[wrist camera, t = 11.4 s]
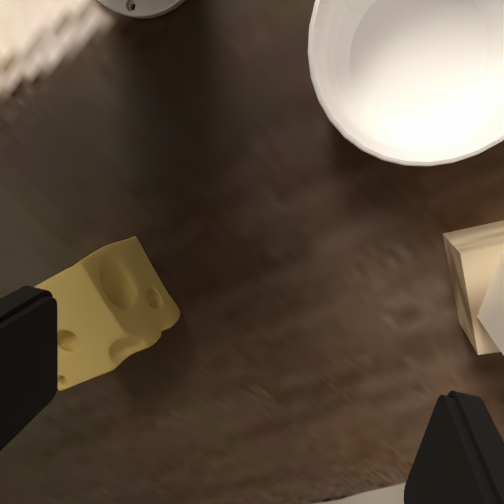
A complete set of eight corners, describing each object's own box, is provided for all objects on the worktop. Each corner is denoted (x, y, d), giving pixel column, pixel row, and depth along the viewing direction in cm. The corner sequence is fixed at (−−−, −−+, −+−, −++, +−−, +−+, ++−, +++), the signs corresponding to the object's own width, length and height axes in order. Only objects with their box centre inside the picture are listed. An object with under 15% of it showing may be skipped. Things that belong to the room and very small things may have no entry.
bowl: (331, -69, 32) (330, -125, 24) (556, -57, 30) (629, -115, 22) (300, 143, 37) (291, 150, 30) (489, 168, 35) (529, 182, 27)
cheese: (184, 312, 45) (144, 364, 36) (109, 343, 48) (54, 398, 39) (136, 228, 43) (80, 259, 34) (61, 266, 46) (-9, 304, 37)
